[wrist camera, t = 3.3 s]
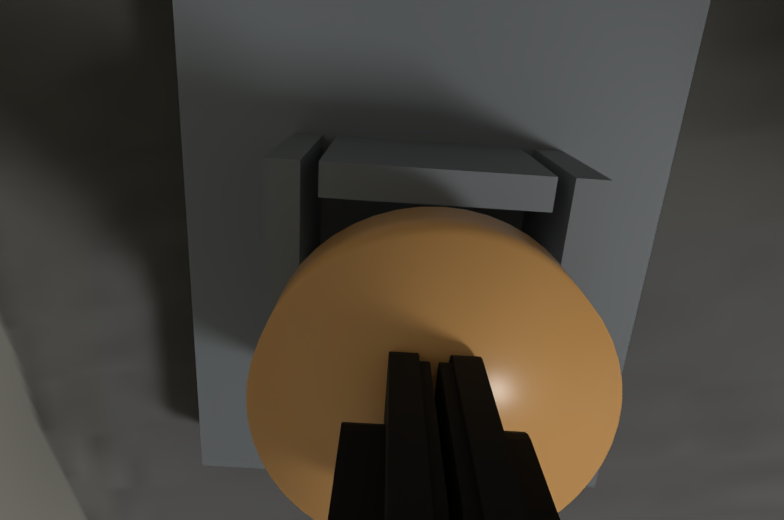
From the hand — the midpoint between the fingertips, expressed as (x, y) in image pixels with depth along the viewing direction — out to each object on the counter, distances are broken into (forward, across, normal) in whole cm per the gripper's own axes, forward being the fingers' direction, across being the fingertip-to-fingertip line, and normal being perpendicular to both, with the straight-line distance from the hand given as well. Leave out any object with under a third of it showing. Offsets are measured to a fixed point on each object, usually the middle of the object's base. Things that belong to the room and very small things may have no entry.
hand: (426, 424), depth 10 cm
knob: (+6, 0, 0) cm, 6 cm away
